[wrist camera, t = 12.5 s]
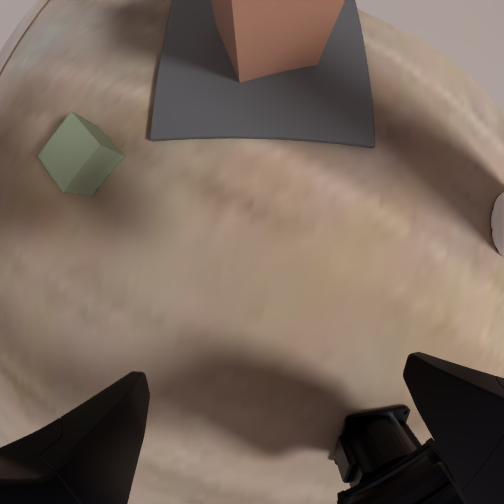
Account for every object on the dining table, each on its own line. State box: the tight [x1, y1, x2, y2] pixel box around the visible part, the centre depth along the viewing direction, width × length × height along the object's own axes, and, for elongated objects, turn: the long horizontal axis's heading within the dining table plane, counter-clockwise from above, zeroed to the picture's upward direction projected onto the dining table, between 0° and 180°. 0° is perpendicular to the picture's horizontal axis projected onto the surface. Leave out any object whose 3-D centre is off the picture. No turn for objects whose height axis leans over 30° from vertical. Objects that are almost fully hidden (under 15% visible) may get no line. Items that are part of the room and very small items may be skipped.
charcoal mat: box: [150, 0, 375, 148], centre depth 18 cm, size 16×16×1 cm
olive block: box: [38, 112, 125, 196], centre depth 17 cm, size 4×4×4 cm
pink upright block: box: [211, 0, 345, 83], centre depth 13 cm, size 6×6×10 cm
